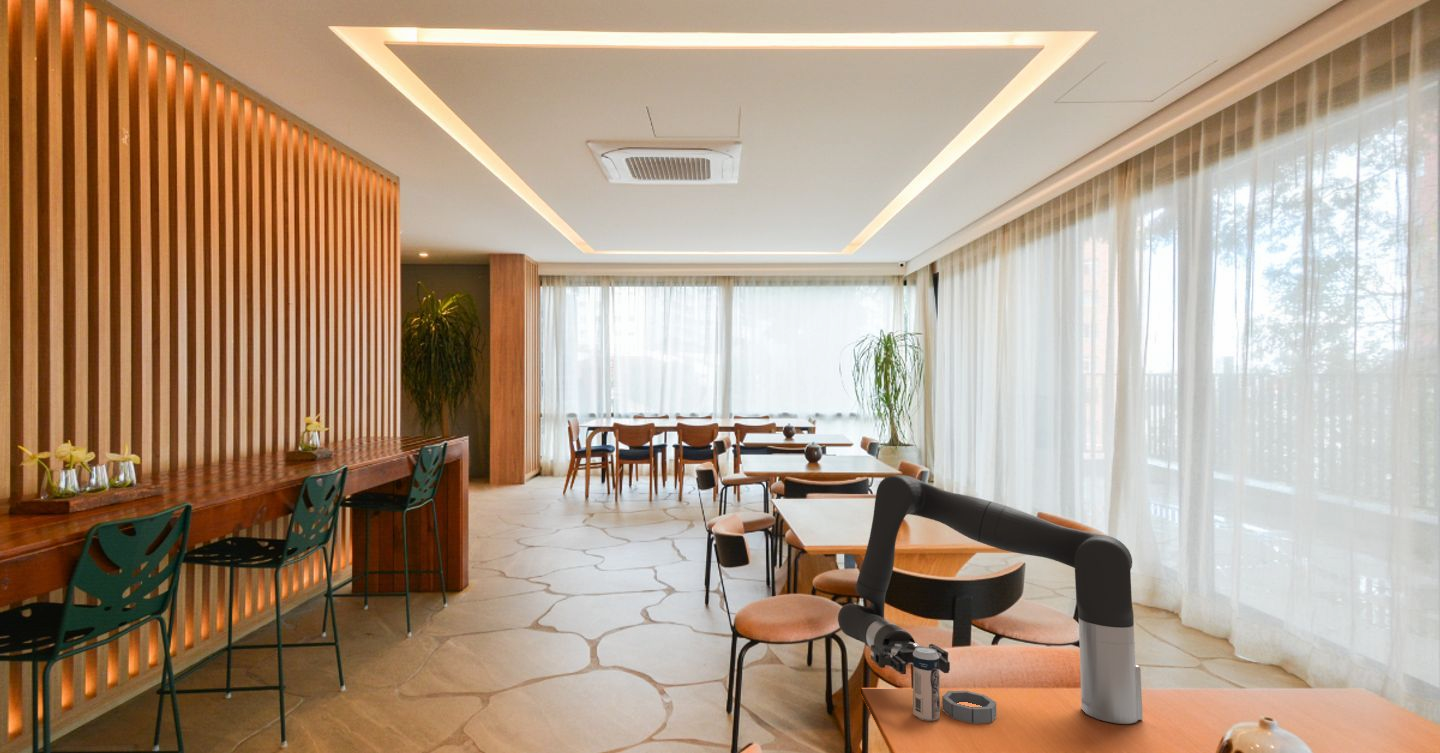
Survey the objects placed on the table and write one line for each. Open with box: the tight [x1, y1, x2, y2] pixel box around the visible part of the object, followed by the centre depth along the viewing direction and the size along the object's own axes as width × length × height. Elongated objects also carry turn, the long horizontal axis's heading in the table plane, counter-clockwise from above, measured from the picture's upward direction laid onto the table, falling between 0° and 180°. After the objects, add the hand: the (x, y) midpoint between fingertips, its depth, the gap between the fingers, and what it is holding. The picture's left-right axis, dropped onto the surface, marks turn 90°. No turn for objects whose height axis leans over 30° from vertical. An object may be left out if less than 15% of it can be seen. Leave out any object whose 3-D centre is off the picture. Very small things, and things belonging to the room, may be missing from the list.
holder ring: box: [941, 690, 998, 725], centre depth 123 cm, size 9×9×2 cm
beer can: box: [912, 646, 941, 722], centre depth 121 cm, size 5×5×12 cm
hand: (926, 668), depth 121 cm, fingers open, 8 cm apart
